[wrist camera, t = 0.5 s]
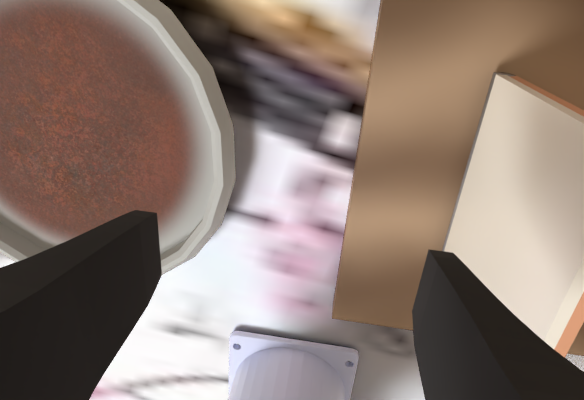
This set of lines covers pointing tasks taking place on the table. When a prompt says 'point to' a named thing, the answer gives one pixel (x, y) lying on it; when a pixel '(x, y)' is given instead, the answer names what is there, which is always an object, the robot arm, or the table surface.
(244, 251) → the table surface
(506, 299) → the tile
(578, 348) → the board
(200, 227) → the frying pan
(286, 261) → the table surface
